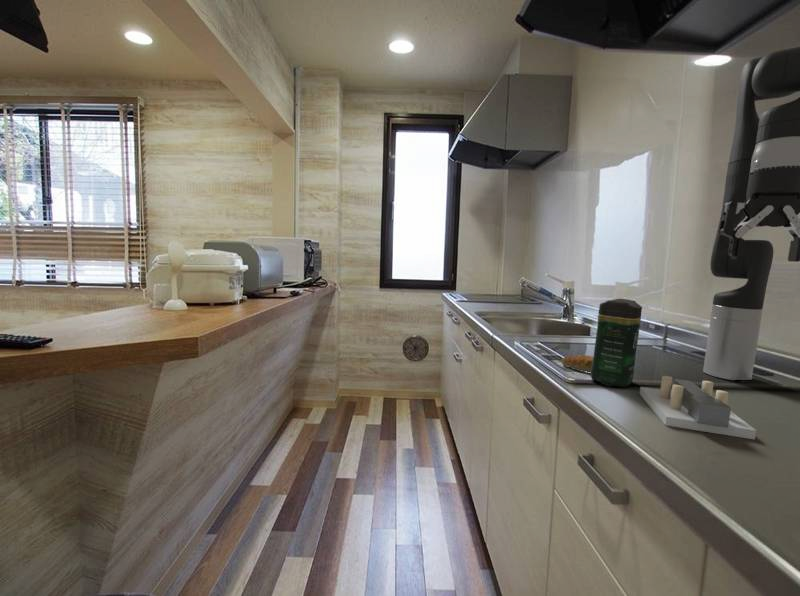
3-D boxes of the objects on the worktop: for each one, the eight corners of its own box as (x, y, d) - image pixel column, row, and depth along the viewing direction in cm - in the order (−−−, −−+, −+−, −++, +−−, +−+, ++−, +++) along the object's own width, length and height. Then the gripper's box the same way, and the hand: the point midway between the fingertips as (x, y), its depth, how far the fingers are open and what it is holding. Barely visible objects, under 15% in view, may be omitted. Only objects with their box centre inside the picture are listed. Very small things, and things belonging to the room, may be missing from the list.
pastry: (557, 367, 97) (558, 352, 96) (566, 362, 102) (568, 348, 101) (598, 376, 91) (599, 360, 90) (606, 371, 96) (607, 356, 95)
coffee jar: (627, 391, 81) (637, 302, 78) (586, 381, 86) (595, 298, 84) (636, 381, 88) (646, 299, 86) (598, 373, 93) (607, 295, 91)
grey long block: (667, 394, 75) (670, 378, 75) (692, 397, 74) (694, 381, 74) (697, 423, 62) (700, 403, 62) (728, 427, 61) (731, 408, 60)
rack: (639, 393, 79) (642, 367, 79) (709, 403, 76) (713, 376, 75) (665, 425, 64) (669, 393, 63) (754, 439, 60) (760, 405, 60)
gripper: (814, 172, 70) (799, 262, 72) (720, 173, 75) (708, 258, 77) (846, 162, 63) (829, 262, 65) (740, 164, 68) (726, 258, 69)
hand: (764, 260), depth 71 cm, fingers open, 8 cm apart
